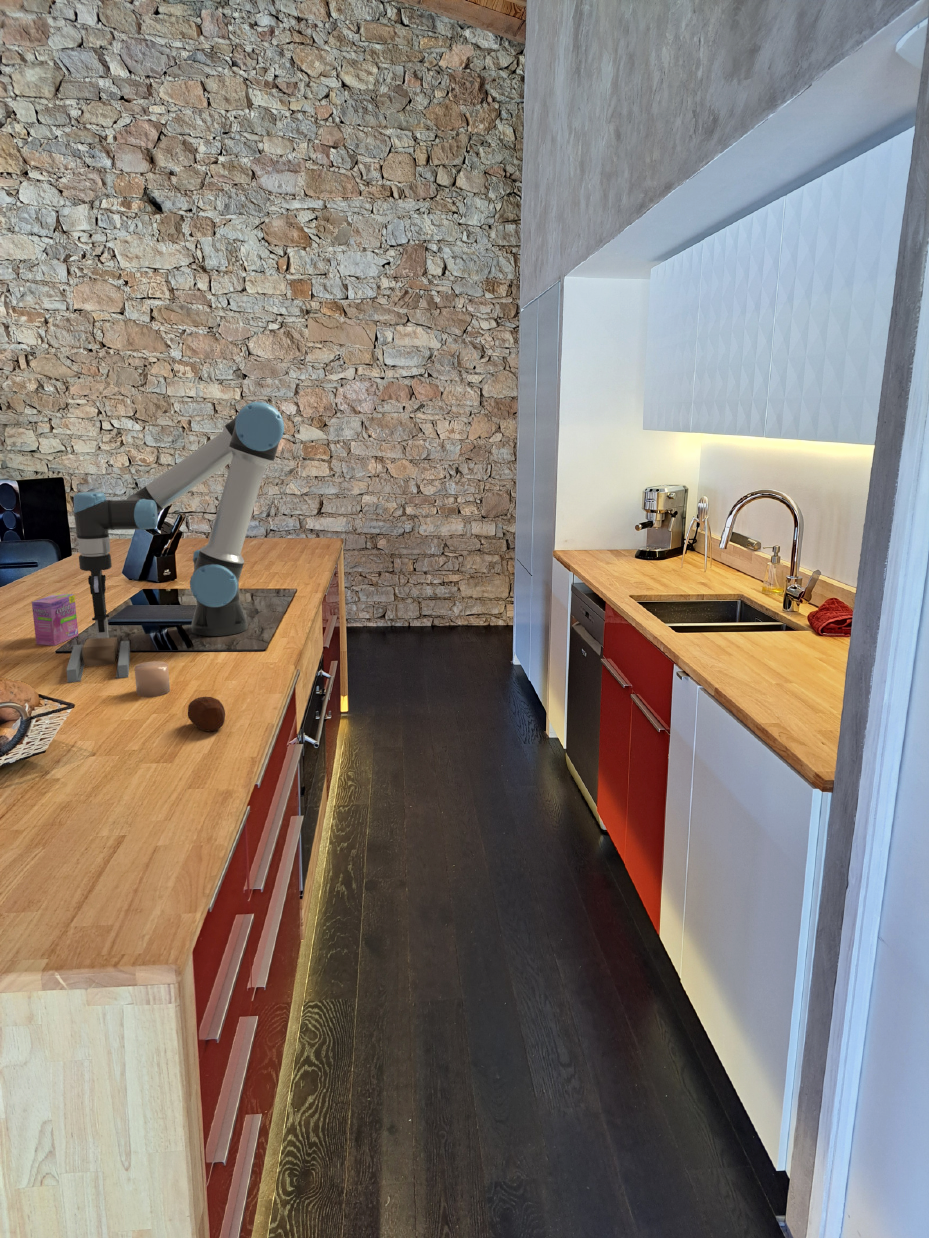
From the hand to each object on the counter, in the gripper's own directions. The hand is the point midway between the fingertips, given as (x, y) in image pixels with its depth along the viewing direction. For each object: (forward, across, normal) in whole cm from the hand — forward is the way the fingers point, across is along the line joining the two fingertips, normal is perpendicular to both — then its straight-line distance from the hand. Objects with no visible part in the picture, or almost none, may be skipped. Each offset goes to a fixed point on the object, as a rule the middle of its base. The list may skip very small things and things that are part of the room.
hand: (103, 643), depth 226 cm
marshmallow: (+1, +41, +12) cm, 42 cm away
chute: (+1, +17, 0) cm, 17 cm away
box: (+2, -12, -12) cm, 17 cm away
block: (+2, +12, 0) cm, 12 cm away
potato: (+2, +66, +22) cm, 70 cm away
